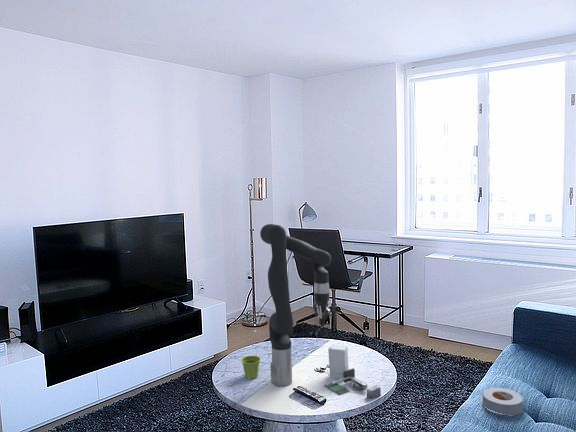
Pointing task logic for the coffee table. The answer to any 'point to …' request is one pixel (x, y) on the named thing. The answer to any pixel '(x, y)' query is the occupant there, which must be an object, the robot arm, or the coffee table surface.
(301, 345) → the coffee table surface
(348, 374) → the grey l-shaped bracket
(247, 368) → the plant pot
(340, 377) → the skincare box
